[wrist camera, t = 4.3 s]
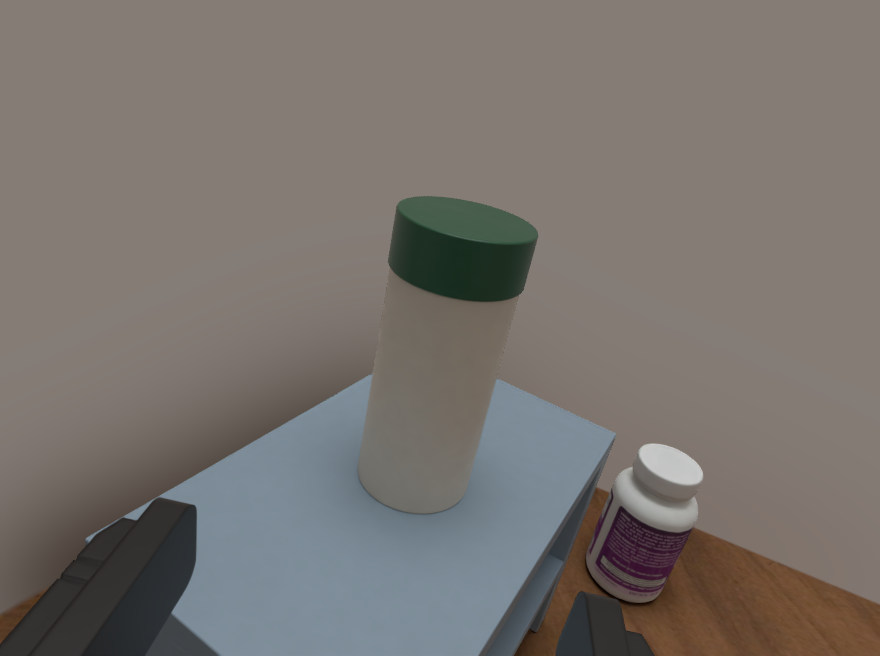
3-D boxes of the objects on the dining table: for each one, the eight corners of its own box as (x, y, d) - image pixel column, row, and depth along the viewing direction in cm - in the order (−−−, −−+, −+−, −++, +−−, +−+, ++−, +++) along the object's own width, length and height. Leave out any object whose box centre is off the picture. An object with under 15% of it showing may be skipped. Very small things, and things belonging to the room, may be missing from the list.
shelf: (109, 781, 25) (84, 538, 19) (387, 519, 41) (422, 343, 35) (326, 1023, 20) (387, 801, 14) (544, 617, 36) (617, 433, 30)
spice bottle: (330, 474, 23) (366, 205, 19) (399, 424, 27) (444, 190, 22) (430, 536, 21) (500, 253, 17) (489, 472, 25) (559, 228, 21)
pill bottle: (677, 602, 39) (735, 491, 35) (608, 610, 37) (661, 495, 33) (633, 539, 44) (680, 435, 39) (570, 544, 42) (612, 436, 38)
